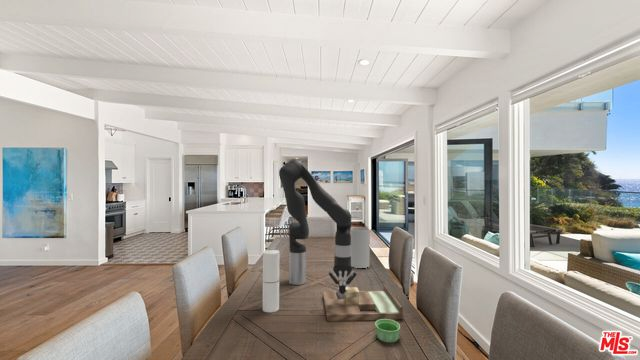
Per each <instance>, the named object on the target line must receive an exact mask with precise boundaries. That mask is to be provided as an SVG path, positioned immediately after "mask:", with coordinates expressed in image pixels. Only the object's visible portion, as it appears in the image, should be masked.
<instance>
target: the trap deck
mask: <svg viewBox="0 0 640 360" xmlns="http://www.w3.org/2000/svg"><path fill="white" fill-rule="evenodd" d="M358 291H359V305H347V304H346V301H345V299H337V290H336V291H335V290H334V291H332V290H331V291H327V290H326V291H325V290H324V291H322V298H323V304H324V305H323V306H324V308H325V309H324V310H325V316H326V321H327V322H343V321H344V322H345V321H346V322H347V321H349V322H350V321H351V322H352V321H377V320H379V319H390V320H394V321H396V320H397V319H403V314H404V313H403V309H404V308H403V306H402V305H401V303H400V302H399V301H398V300H397V298H396V297H395V296H394V294H393V293H392V292H391V291H390V289H389V288H388V287H387V285H383V290H358ZM361 311H375V312H361ZM403 320H404V319H403Z"/></svg>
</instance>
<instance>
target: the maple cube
mask: <svg viewBox="0 0 640 360" xmlns="http://www.w3.org/2000/svg"><path fill="white" fill-rule="evenodd" d="M359 291H360V290H359V289H358V287H355V286H346V291H345V301H346V304H347V305H359Z"/></svg>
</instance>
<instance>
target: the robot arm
mask: <svg viewBox="0 0 640 360" xmlns="http://www.w3.org/2000/svg"><path fill="white" fill-rule="evenodd" d="M278 175H279V180H280V182H281V186H282V189H283V192H284V193H283V194H284V197H285V201H286V207H287V208H286V209H287V211H288V213H289V215H290V216H291V217H292V218H293V219H294V220H295V221H296V222H291V223H289V226H288V227H289V228H288V236H289V238H288V241H289V259H288V260H289V261H288V263H289V265H288V285H294V286H298V285H304V284H306V280H307V246H306V245H304V244H302V243H300V242H299V241H298V240H306V239H308V237H309V234H310V230H309V229H310V228H309V224H308V219H307V212H306V201H305V197H304V196H303V195H302V194H301V192H299V191H297V190H296V188H295V187H296V182H298V181H299V179H302V180H303V181H304V182H305V183H306V185H307V187H308V189H309V192H310V195H311V198H312V200H313V202H315V204H316V205H317V206H318V207H319V208H320V209H322V210H323V211H324V212H325V213H326V214H327V215H328V216H329V217H330V218H331V219H332V221H333V222H334V223H335V224H336V225H335V226H336V228H335V229H336V231H335V235H334V252H333V254H334V255H333V256H334V258H333V260H334V261H333V262H334V263H333V268H332V270H331V271H330V270H329V271H328V276H329V277H330V279H332V281H333V282H334V284H335V285H338V288H339V292H340V293H341V294H344V293H345V291H346V287H347V285H350V284H351V283H352V281H353V280H354V279H355V277H356V276H357V275H358V274H357V272H356V271H354V270H353V267H352V266H351V228H352V213H351V212H350V211H349V210H347V209H344V208H343V207H342V205H340V204H339V203H338V202H337V200H336V199H335V198H334V197H333V196H332V195H330V194H329V193H328V192H327V191H326V190H325V189H324V188H323V187H322V186H321V185H320V182H318V181H317V180H316V178H315V177H314V176H313V175H312V173H311V172H310V171H309V170H308V169H307V168H306V166H305V165H304V164H303V163H302V162H301V161H300V160H298V159H295V158H293V159H291V160H289V161H288V162H286V163H285V164H284V165H283V166H281V167H280V169H279V170H278ZM335 275H336V276H335ZM336 277H337V278H338V279H337V278H336Z"/></svg>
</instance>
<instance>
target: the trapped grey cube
mask: <svg viewBox="0 0 640 360" xmlns="http://www.w3.org/2000/svg"><path fill="white" fill-rule="evenodd" d="M336 291H337V299H345V293H344V294H341V293H340V292H339V287H337V290H336Z"/></svg>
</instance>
